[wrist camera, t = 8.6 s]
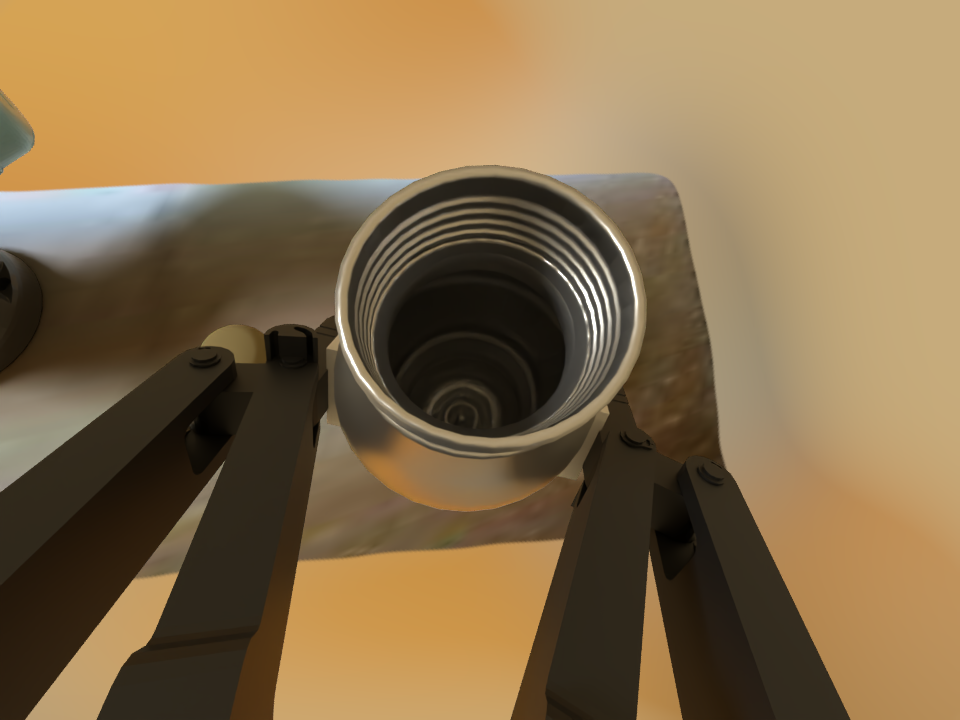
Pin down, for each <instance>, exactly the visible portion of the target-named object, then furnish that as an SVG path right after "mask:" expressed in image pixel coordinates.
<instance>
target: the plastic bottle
mask: <svg viewBox="0 0 960 720" xmlns="http://www.w3.org/2000/svg"><path fill="white" fill-rule="evenodd" d="M646 314H647V298H646V293H645V287H644V282H643V277H642V272H641V270H640V267H639V265H638V262H637V260H636V258H635V255H634V253H633V250H632V248H631V246H630V245H629V243H628V242H627V240H626V239H625V237H624V236H623V234H622V232H621V231H620V229H619V228H618V226H617V225H616V224H615V223H614V222H613V221H612V220H611V219H610V218H609V217H608V216H607V215H606V213H605V212H604V211H603V210H602V209H601V208H600V207H599V206H598V205H597V204H595V203H594V202H592V201H591V200H590V199H588V198H587V197H586V196H584V195H583V194H581V193H580V192H579V191H577V190H576V189H574V188H572V187H570V186H568V185H566V184H564V183H562V182H560V181H558V180H556V179H554V178H552V177H550V176H546V175H543V174H540V173H536V172H533V171H529V170H526V169H522V168H515V167H506V166H498V165H483V166H465V167H460V168H456V169H451V170H446V171H441V172H438V173H435V174H433V175H430V176H428V177H425V178H423V179H420V180H418V181H415V182H413V183H411V184H410V185H408V186H406V187H405V188H403V189H402V190H400V191H398V192H397V193H395V194H394V195H392V196H390V197H389V198H388V199H387V200H386V201H385V202H383V203H382V204H381V205H380V206H379V207H378V208H377V209H376V210H375V211H374V212H373V213H371V214H370V215H369V216H368V218H367V219H366V220H365V222H364V223H363V225H362V226H361V227H360V229H359V230H358V231H357V233H356V234H355V236H354V237H353V238H352V240H351V242H350V245H349V247H348V249H347V251H346V254H345V256H344V258H343V260H342V262H341V265H340V270H339V274H338V279H337V284H336V289H335V323H336V327H337V331H338V335H339V340H340V342H339V345H338V350H337V355H336V360H335V365H334V400H335V405H336V409H337V414H338V418H339V422H340V426H341V428H342V431H343V433H344V435H345V437H346V439H347V441H348V443H349V445H350V448H351V450H352V451H353V452H354V454H355V455H356V456H357V457H358V459H359V460H360V461H361V463H362V464H363V465H364V467H365V468H366V469H367V470H368V471H369V472H370V473H371V474H372V475H373V476H374V477H376V478H377V479H378V480H379V481H380V482H382V483H383V484H384V485H385V486H386V487H387V488H389V489H391V490H392V491H394V492H396V493H398V494H400V495H402V496H404V497H405V498H407V499H409V500H411V501H413V502H416V503H420V504H423V505H427V506H430V507H433V508H437V509H442V510H453V511H465V512H469V511H478V510H486V509H495V508H498V507H501V506H504V505H507V504H510V503H513V502H516V501H520V500H522V499H524V498H526V497H527V496H529V495H531V494H533V493H534V492H536V491H538V490H540V489H542V488H543V487H545V486H546V485H547V484H548V483H550V482H551V481H552V480H553V479H554V478H555V477H557V476H558V475H559V474H560V473H561V472H562V471H563V470H565V468H566V467H567V466H568V465H569V463H570V462H571V461H572V459H573V458H574V457H575V455H576V454H577V453H578V452H579V450H580V449H581V447H582V445H583V443H584V441H585V439H586V437H587V435H588V433H589V431H590V429H591V427H592V424H593V422H594V420H595V417H596V414H597V413H598V412H599V411H601V410H602V409H603V408H604V407H605V406H606V405H608V404H609V403H610V402H611V400H612V399H613V398H614V396H615V395H616V394H617V393H618V391H619V390H620V389H621V387H622V386H623V385H624V383H625V382H626V381H627V380H628V377H629V375H630V373H631V371H632V369H633V367H634V365H635V363H636V361H637V359H638V357H639V355H640V351H641V347H642V343H643V338H644V334H645V330H646Z"/></svg>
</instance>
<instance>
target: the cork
mask: <svg viewBox="0 0 960 720" xmlns="http://www.w3.org/2000/svg"><path fill="white" fill-rule="evenodd" d="M202 346H217V347H223V348H226V349H229V350H230V351H231V352H232V353H234V358H235V363H256V364H258V363H266V361H267V360H266V351H265V342H264V334H263V333H261V332H260V331H258V330H257V329H255V328H253V327H249V326H246V325H228V326H225V327H222V328H219V329H217V330H216V331H214V332H213V333H211V334H210V335H209V336H208V337H207V338H206V339H205V340H204V342H203V343H202V345H201V347H202Z"/></svg>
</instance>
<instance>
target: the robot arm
mask: <svg viewBox="0 0 960 720" xmlns="http://www.w3.org/2000/svg"><path fill="white" fill-rule="evenodd" d="M33 145H34V132H33V129H32V127H31V126H30V124H29V122H28V121H27V120H26V118H25V117H24V116H23V115H22V113H21V112H20V111H19V110H18V108H17V107H16V106H15V105H14V104H13V103H12V102H11V101H10V100H9V98H8V97H7V96H6V95H5V94H4V93H3V92H2V91H1V90H0V175H1V173H3V168H5V167H6V166H8V165H9V164H10V163H12V162H14V161H15V160H17V159H18V158H20V157H21V156H23V155H24V154H26V153H28V151H30V150H31V148H32V147H33ZM41 310H42V294H41V289H40V286H39V283H38V280H37V278H36V276H35V275H34V273H33V272H32V270H31V269H30V268H29V267H28V266H27V265H26V264H25V263H24V262H23V261H22V260H20V259H19V258H17V257H16V256H14V255H12V254H10V253H8V252H6V251H3V250H1V249H0V371H1V370H3V369H4V368H5V367H6V366H8V365H9V364H10V363H11V362H12V361H13V360H14V359H15V358H16V357H17V356H18V355H19V354H20V353H21V352H22V351H23V350H24V348H25V347H26V346H27V344H28V343H29V341H30V340H31V338H32V336H33V334H34V332H35V330H36V328H37V325H38V323H39V319H40V315H41ZM264 342H265V351H266V360H267V361H266V363H258V364H256V363H235V358H234V353H232V352H231V351H230V350H229V349H226V348H223V347H217V346H202V347H197V348H193V349H190V350H187V351H185V352H183V353H181V354H180V355H178V356H177V357H176V358H174V359H173V360H172V361H170V362H169V363H168V364H166V365H165V366H164V367H163V368H161V369H160V370H159V371H157V372H156V373H155V374H153V375H152V376H151V377H150V378H148V379H147V380H146V381H144V382H143V383H142V384H140V385H139V386H138V387H137V388H135V389H134V390H133V391H131V392H130V393H129V394H127V395H126V396H125V397H124V398H122V399H121V400H120V401H118V402H117V403H116V404H115V405H113V406H112V407H111V408H109V409H108V410H107V411H105V412H104V413H103V414H102V415H100V416H99V417H98V418H96V419H95V420H94V421H92V422H91V423H90V424H89V425H87V426H86V427H85V428H83V429H82V430H81V431H79V432H78V433H77V434H76V435H74V436H73V437H72V438H70V439H69V440H68V441H66V442H65V443H64V444H63V445H61V446H60V447H59V448H57V449H56V450H55V451H54V452H52V453H51V454H50V455H48V456H47V457H46V458H44V459H43V460H42V461H41V462H39V463H38V464H37V465H35V466H34V467H33V468H31V469H30V470H29V471H28V472H26V473H25V474H24V475H22V476H21V477H20V478H18V479H17V480H16V481H15V482H13V483H12V484H11V485H9V486H8V487H7V488H5V489H4V490H3V491H2V492H0V720H25V719H26V718H27V716H28V715H29V714H30V712H31V711H32V710H33V708H34V707H35V705H37V703H38V702H39V701H40V699H41V698H42V697H43V696H44V694H45V693H46V692H47V690H48V689H49V688H50V686H51V685H52V684H53V683H54V681H55V680H56V679H57V677H58V676H59V675H60V673H61V672H62V671H63V669H64V668H65V667H66V666H67V664H68V663H69V662H70V661H71V659H72V658H73V657H74V655H75V654H76V653H77V651H78V650H79V649H80V648H81V646H82V645H83V644H84V642H85V641H86V640H87V638H88V637H89V636H90V635H91V633H92V632H93V630H94V629H95V628H96V627H97V625H98V624H99V623H100V622H101V620H102V619H103V618H104V616H105V615H106V614H107V612H108V611H109V610H110V609H111V607H112V606H113V605H114V603H115V602H116V601H117V600H118V598H119V597H120V595H121V594H122V593H123V592H124V590H125V589H126V588H127V587H128V585H129V584H130V583H131V581H132V580H133V579H134V578H135V576H136V575H137V574H138V572H139V571H140V570H141V568H142V567H143V566H144V565H145V563H146V562H147V561H148V559H149V558H150V557H151V556H152V554H153V553H154V552H155V550H156V549H157V548H158V546H159V545H160V544H161V543H162V541H163V540H164V539H165V537H166V536H167V535H168V533H169V532H170V531H171V530H172V528H173V527H174V526H175V524H176V523H177V522H178V521H179V519H180V518H181V517H182V515H183V514H184V513H185V511H186V510H187V509H188V508H189V506H190V505H191V504H192V502H193V501H194V500H195V498H196V497H197V496H198V495H199V493H200V492H201V491H202V489H203V488H204V487H205V486H206V484H207V483H208V482H209V480H210V479H211V478H212V476H213V475H214V474H215V473H216V471H217V470H218V469H219V467H220V466H221V465H222V463H223V462H224V461H225V462H224V465H223V467H222V470H221V472H220V475H219V477H218V479H217V482H216V484H215V487H214V489H213V492H212V494H211V496H210V499H209V501H208V504H207V506H206V509H205V511H204V513H203V516H202V518H201V521H200V523H199V526H198V528H197V530H196V533H195V535H194V538H193V540H192V543H191V545H190V547H189V550H188V552H187V555H186V557H185V560H184V562H183V564H182V567H181V569H180V572H179V574H178V577H177V579H176V582H175V584H174V586H173V589H172V591H171V594H170V596H169V598H168V601H167V603H166V606H165V608H164V610H163V613H162V616H161V618H160V620H159V623H158V625H157V627H156V630H155V632H154V634H153V636H152V638H151V639H150V641H149V642H148V643H147V645H146V646H144V647H143V648H141V649H139V650H138V651H136V652H134V653H132V654H131V656H130V657H129V658H128V660H127V661H126V662H125V663H124V665H123V666H122V667H121V669H120V671H119V673H118V675H117V677H116V679H115V681H114V683H113V685H112V686H111V689H110V691H109V693H108V695H107V698H106V700H105V702H104V704H103V706H102V709H101V711H100V713H99V716H98V718H97V720H273V709H274V697H275V690H276V683H277V677H278V671H279V666H280V660H281V654H282V648H283V643H284V637H285V631H286V625H287V619H288V614H289V607H290V602H291V596H292V591H293V585H294V579H295V573H296V567H297V562H298V556H299V550H300V544H301V539H302V533H303V527H304V521H305V515H306V510H307V504H308V498H309V492H310V486H311V481H312V475H313V469H314V463H315V458H316V452H317V446H318V440H319V434H320V419H321V418H322V416H323V415H324V413H325V412H326V411H327V424H332V425H336V426H340V422H339V418H338V414H337V409H336V405H335V400H334V365H335V360H336V355H337V350H338V345H339V342H340V340H339V335H338V331H337V327H336V323H335V315H334V316H332V317H330V318H327V319H326V320H325V321H324V322H323V323H322V324H321V325H320V327H318V328H317V329H316V330H315V331H314V330H313V329H312V328H309V327H307V326H304V325H298V324H284V325H280V326H275V327H273V328H271V329H269V330H267V331H266V333H265V334H264ZM625 396H626V395H625V392H624V389H623V386H622V387H621V389H620V390H619V391H618V393H617V394H616V395H615V396H614V398H613V399H612V400H611V402H610V403H609V404H608V405H606V406H605V407H604V408H603V409H602V410H601V411H599V412H598V413H597V414H596V417H595V420H594V422H593V424H592V427H591V429H590V431H589V433H588V435H587V437H586V439H585V441H584V443H583V445H582V447H581V449H580V450H579V452H578V453H577V454H576V455H575V457H574V458H573V459H572V461H571V462H570V463H569V465H568V466H567V467H566V468H565V470H563V471H562V472H561V473H560V474H559V475H558V476H560V477H564V478H568V479H573V480H577V478H578V476H579V474H580V472H581V470H582V468H583V472H584V481H583V483H582V485H581V487H580V489H579V491H578V493H577V495H576V497H575V499H574V501H573V503H572V505H571V506H573V507H574V509H573V512H572V515H571V519H570V522H569V525H568V529H567V532H566V536H565V539H564V542H563V546H562V549H561V552H560V556H559V559H558V563H557V566H556V569H555V572H554V576H553V579H552V583H551V586H550V589H549V593H548V596H547V600H546V603H545V606H544V610H543V613H542V616H541V620H540V623H539V626H538V630H537V633H536V636H535V640H534V643H533V646H532V650H531V653H530V656H529V660H528V663H527V666H526V670H525V673H524V677H523V680H522V683H521V687H520V690H519V693H518V697H517V700H516V703H515V707H514V710H513V714H512V717H511V720H636V717H637V704H638V690H639V677H640V663H641V650H642V636H643V623H644V609H645V596H646V581H647V568H648V555H649V551H650V556H651V561H652V566H653V571H654V576H655V581H656V587H657V591H658V596H659V602H660V607H661V612H662V617H663V622H664V627H665V632H666V637H667V642H668V647H669V653H670V658H671V663H672V668H673V673H674V678H675V683H676V688H677V693H678V698H679V703H680V708H681V713H682V718H683V720H850V718H849V716H848V714H847V711H846V709H845V707H844V705H843V703H842V701H841V699H840V697H839V695H838V693H837V691H836V689H835V687H834V685H833V682H832V680H831V678H830V676H829V674H828V672H827V670H826V668H825V666H824V664H823V662H822V660H821V658H820V656H819V653H818V651H817V649H816V647H815V645H814V643H813V641H812V639H811V637H810V635H809V633H808V630H807V629H806V626H805V624H804V622H803V620H802V618H801V616H800V614H799V612H798V610H797V608H796V606H795V603H794V601H793V599H792V597H791V595H790V593H789V591H788V589H787V587H786V585H785V583H784V581H783V579H782V577H781V575H780V572H779V570H778V568H777V566H776V564H775V562H774V560H773V558H772V556H771V554H770V552H769V550H768V547H767V546H766V543H765V541H764V539H763V537H762V535H761V533H760V531H759V529H758V527H757V525H756V523H755V520H754V519H753V516H752V514H751V512H750V510H749V508H748V506H747V504H746V502H745V500H744V498H743V496H742V493H741V491H740V489H739V487H738V485H737V483H736V481H735V480H734V478H733V477H732V475H731V474H730V473H729V472H728V471H727V470H726V469H725V468H724V467H722V466H721V465H720V464H718V463H717V462H715V461H713V460H710V459H708V458H705V457H702V456H691V457H688V459H687V460H686V461H685V463H684V464H681V463H679V462H676V461H674V460H672V459H670V458H668V457H665V456H663V455H661V454H660V453H658V452H656V446H655V443H654V441H653V440H652V439H651V437H650V436H649V435H647V434H646V433H645V432H644V431H642V430H640V429H639V428H637V426H636V423H635V420H634V418H633V415H632V412H631V409H630V406H629V405H628V400H627V398H626V397H625Z"/></svg>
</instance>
